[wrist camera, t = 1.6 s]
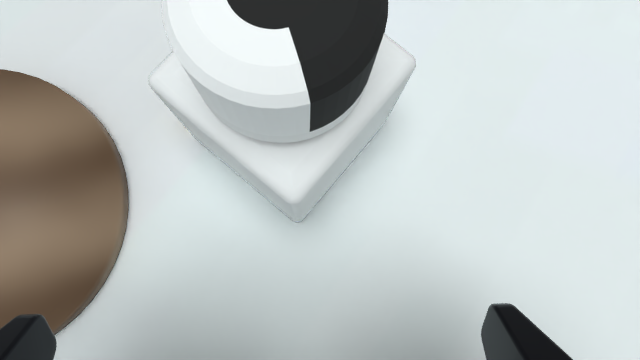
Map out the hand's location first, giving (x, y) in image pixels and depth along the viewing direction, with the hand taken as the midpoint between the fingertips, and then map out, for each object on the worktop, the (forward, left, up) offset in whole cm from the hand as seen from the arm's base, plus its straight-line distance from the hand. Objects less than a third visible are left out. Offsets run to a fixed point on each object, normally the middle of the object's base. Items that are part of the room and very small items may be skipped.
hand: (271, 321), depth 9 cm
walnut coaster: (+11, +11, -12) cm, 20 cm away
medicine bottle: (+7, -4, -13) cm, 15 cm away
